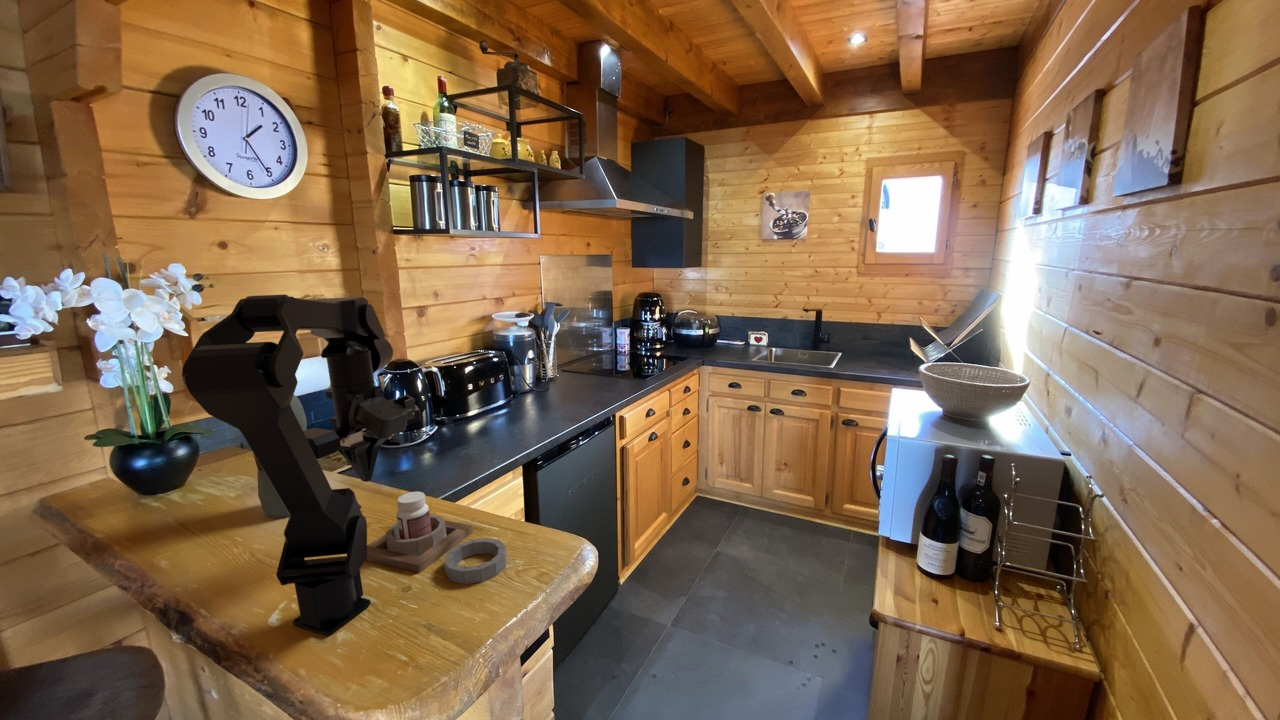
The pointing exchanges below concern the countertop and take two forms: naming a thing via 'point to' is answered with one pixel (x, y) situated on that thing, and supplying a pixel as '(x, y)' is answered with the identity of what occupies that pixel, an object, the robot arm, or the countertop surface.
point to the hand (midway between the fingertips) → (366, 480)
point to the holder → (480, 571)
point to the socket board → (417, 545)
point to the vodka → (265, 488)
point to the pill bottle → (413, 516)
